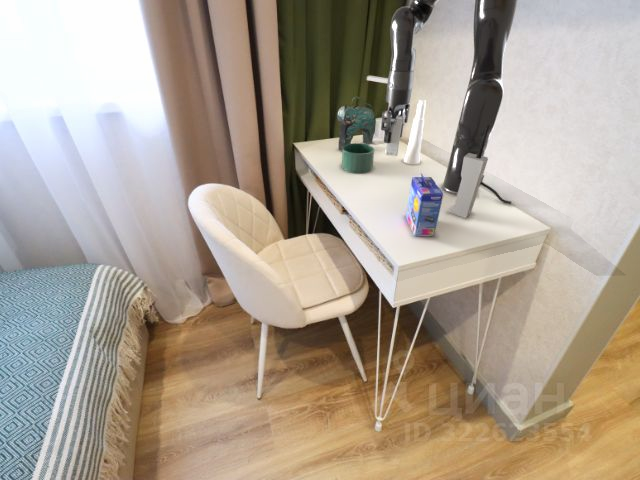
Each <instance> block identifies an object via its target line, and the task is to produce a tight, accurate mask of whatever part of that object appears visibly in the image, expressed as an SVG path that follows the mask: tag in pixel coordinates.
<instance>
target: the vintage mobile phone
mask: <svg viewBox="0 0 640 480" xmlns="http://www.w3.org/2000/svg"><path fill="white" fill-rule="evenodd" d="M489 126H490V125H489V124H488V125H487V127H486V130H485V133H484V137H483V140H482V143H481V145H480V148H479V152H478V155H476V154H471V153H468V154H467V155H466V156H464V160H463V166H462V171H461V177H462V180H461V184H460V187H459V191H458V194H457V195H456V198H455V202H454V204H453V205H452V206H451V207H450V208H449V211H448V213H449V214H452V215H454V216H458V217H461V218H463V219H466V218H467V217H469V216H470V214H471V213H472V211H473V207H474V205H475V201H476V197H477V195H478V192H479V189H480V187H481V185H480V183H481V179H482V176H483V175H484V173H485V170H486V167H487V163H488V160H489V158H488V156H485V155H484V156H481V154H482V151H483V147H484V143H485V139H486V136H487V133H488V129H489ZM479 186H480V187H479Z"/></svg>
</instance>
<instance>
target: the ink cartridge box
mask: <svg viewBox="0 0 640 480" xmlns="http://www.w3.org/2000/svg"><path fill="white" fill-rule="evenodd" d="M420 175H421V176H412V177H411V184H410V188H409V189H410V191H409V195H408V201H407V206H406V207H407V208H406V212H405V213H406V214H405V218H406V221H407V223H408V225H409V228H410V230H411V232H412V234H413V236H415V237H435V235H436V231H437V226H438V225H437V224H438V221H439V217H440V212H441V206H442V202H443V198H444V192H443V191H442V189H441V188H440V187H439V186H438V185H437V184H436V181H435V180H434V179H433V177H431V176H424V175H423V173H420Z"/></svg>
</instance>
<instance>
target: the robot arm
mask: <svg viewBox="0 0 640 480" xmlns="http://www.w3.org/2000/svg"><path fill="white" fill-rule="evenodd" d="M439 2H440V0H412V1H411V3H410V4H409V5H408V6H407V5H406V6H401V7H399V8H397V10H396V11H394V13H393V16H392V17H391V21H390V28H389V35H390V49H391V50H390V51H391V56H390V64H389V72H388V75H387V84H386V93H385V103H387V104H388V109H387V110H385V109H384V110H382V113H381V124H380V130H381V131H384V134H383V143H384V144H386V143H388V144H389V143H390V142H391V135H392V129H393V127H394V126H395V125H396V122H397V119H398V117H401V116H402V127H401V134H400V139H401V138H402V137H403V131H404V126H406V125H405V124H407V123H408V120H409V114H410V108H411V104H410V103H411V96H412V90H413V83H414V71H415V65H416V64H415V63H416V58H417V51H416V49H415V48H414V37H415V36H416V35H417V34H418V33H420V32H421V31H422V30H423V28H424V27H425V25H426V24H427V23H428V21H429V19H430V18H431V16H432V14H433V12H434V11H435V8H436V6H437V4H438V3H439ZM517 3H518V0H475V3H474V9H473V10H474V12H473V59H472V60H473V61H472V65H471V66H472V67H471V71H470V76H469V81H468V85H467V88H466V91H465V94H464V100H463V102H462V103H463V104H462V109H461V112H460V116H459V120H458V124H457V128H456V132H455V136H454V141H453V144H452V148H451V152H450V156H449V161H448V164H447V168H446V172H445V176H444V180H443V184H442V189H443V190H444V191H446V192H447V193H449V194H453V195H456V196H457V194H458V191H459V187H460V184H461V180H462V177H461V171H462V166H463V160H464V156H466V155H467V154H468V153H471V154H476V155H478V152H479V148H480V145H481V143H482V140H483V137H484V133H485V130H486V127H487V125H488V124H489V125H490V126H489V129H488V133H487V136H486V139H485V143H484V147H483V151H482V154H481V156H484V157H485V153H486V150H487V147H488V144H489V140H490V137H491V135H492V131H493V130H494V128H495V124H496V121H497V118H498V115H499V113H500V112H499V111H500V110H501V109H500V108H501V106H502V103H503V98H504V87H503V70H504V69H503V67H504V54H505V51H506V46H507V43H508V40H509V38H510V34H511V30H512V26H513V23H514V19H515V14H516V11H517ZM391 118H392V119H394V121H391ZM390 124H391V126H390ZM484 178H485V175H484V174H483V176H482V179H481V183H480V186H479V188H480V187H481V186H483V187H484V188H486V189H487V190H489V191H490V192H492V193H493V194H494V195H495V197H496V198H497V199H498V200H499V201H500V202H502V203H504V204H508V205H511V204H512V200H511V201H510V200H507V199H506V200H505V199H504V198H502V196H501V195H500V194H499V193H498V191H496V190H495V189H494V188H492V187H491V186H489V185H488V184H486V183H485V182H483V180H484Z"/></svg>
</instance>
